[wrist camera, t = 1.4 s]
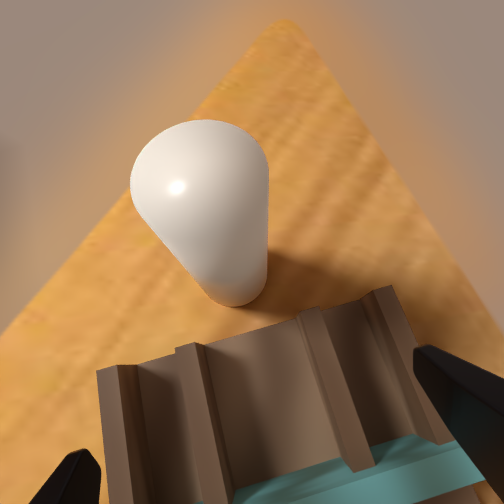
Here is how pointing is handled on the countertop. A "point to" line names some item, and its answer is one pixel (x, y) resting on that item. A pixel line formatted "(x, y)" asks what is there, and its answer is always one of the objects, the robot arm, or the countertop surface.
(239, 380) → the comb rack
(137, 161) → the white cylinder
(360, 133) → the countertop surface
